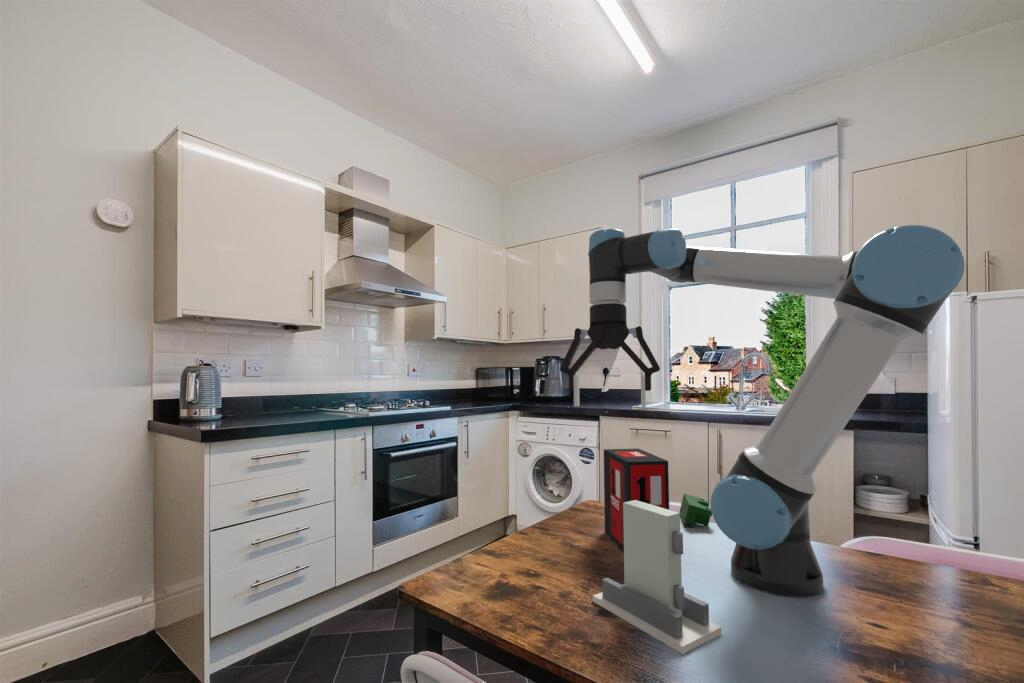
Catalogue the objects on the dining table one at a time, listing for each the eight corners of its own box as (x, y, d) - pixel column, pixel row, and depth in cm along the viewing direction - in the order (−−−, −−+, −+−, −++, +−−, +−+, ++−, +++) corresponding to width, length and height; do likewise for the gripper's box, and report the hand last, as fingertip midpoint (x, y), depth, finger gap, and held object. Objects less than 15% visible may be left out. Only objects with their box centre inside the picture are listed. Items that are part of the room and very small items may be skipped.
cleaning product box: (670, 557, 99) (668, 461, 101) (629, 559, 98) (627, 462, 100) (640, 531, 116) (638, 448, 117) (604, 532, 115) (603, 449, 116)
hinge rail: (592, 601, 80) (592, 577, 81) (630, 588, 85) (629, 565, 86) (682, 654, 65) (682, 624, 66) (721, 634, 70) (720, 606, 71)
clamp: (704, 544, 119) (714, 516, 115) (679, 536, 120) (689, 508, 117) (702, 513, 129) (711, 487, 126) (679, 506, 131) (688, 480, 127)
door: (624, 601, 78) (623, 502, 79) (637, 596, 80) (635, 500, 81) (677, 629, 70) (674, 518, 71) (690, 623, 71) (687, 515, 72)
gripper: (669, 304, 99) (672, 406, 98) (553, 309, 106) (553, 404, 105) (671, 299, 92) (673, 409, 91) (545, 305, 99) (546, 407, 98)
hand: (609, 407), depth 98 cm, fingers open, 13 cm apart
